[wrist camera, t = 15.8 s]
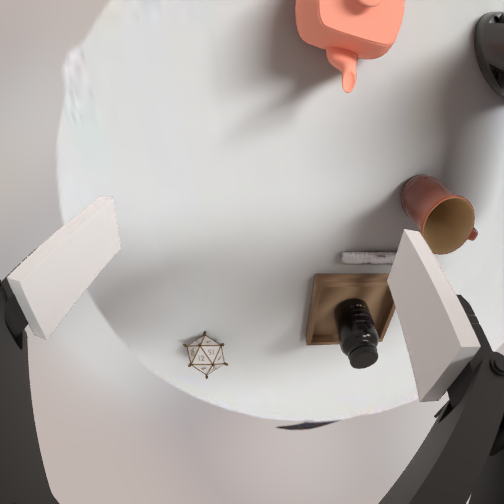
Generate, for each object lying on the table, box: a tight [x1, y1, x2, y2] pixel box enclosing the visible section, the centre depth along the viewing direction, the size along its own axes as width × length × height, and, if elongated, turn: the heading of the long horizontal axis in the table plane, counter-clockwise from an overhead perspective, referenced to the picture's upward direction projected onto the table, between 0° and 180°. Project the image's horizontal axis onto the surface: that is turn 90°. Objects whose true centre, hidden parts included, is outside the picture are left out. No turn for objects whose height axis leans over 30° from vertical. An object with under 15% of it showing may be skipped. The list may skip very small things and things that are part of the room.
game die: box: [183, 331, 228, 379], centre depth 59 cm, size 9×8×10 cm
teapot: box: [295, 0, 405, 93], centre depth 24 cm, size 20×12×12 cm, turn 172°
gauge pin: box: [341, 252, 397, 264], centre depth 48 cm, size 12×2×2 cm, turn 91°
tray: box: [306, 273, 396, 345], centre depth 54 cm, size 16×16×2 cm
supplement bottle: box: [334, 298, 379, 369], centre depth 50 cm, size 7×7×12 cm
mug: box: [401, 175, 478, 255], centre depth 38 cm, size 12×9×10 cm
